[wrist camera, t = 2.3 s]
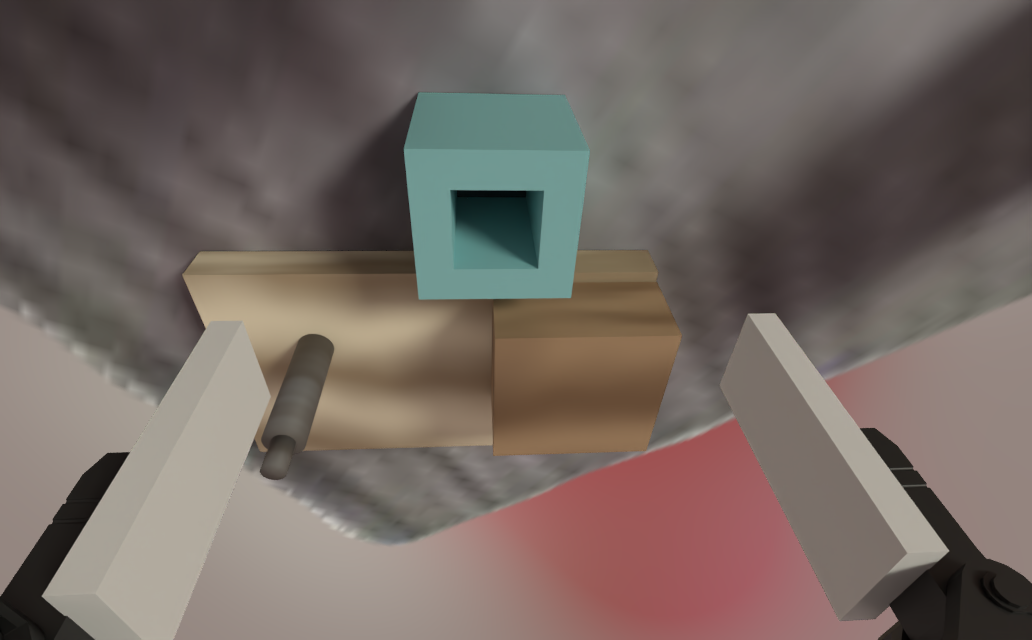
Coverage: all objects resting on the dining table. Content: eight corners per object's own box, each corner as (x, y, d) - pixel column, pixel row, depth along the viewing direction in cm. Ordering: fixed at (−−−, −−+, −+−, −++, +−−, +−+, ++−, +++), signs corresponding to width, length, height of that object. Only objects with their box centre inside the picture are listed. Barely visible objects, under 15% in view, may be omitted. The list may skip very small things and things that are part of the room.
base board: (199, 251, 25) (88, 399, 18) (647, 250, 27) (713, 385, 20) (270, 426, 33) (213, 576, 26) (609, 416, 35) (645, 556, 28)
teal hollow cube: (418, 92, 21) (403, 148, 17) (564, 95, 22) (589, 151, 17) (428, 223, 25) (418, 299, 20) (553, 223, 26) (571, 298, 21)
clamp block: (492, 283, 25) (495, 338, 22) (656, 281, 26) (682, 335, 22) (491, 397, 30) (493, 455, 27) (628, 394, 31) (646, 450, 28)
